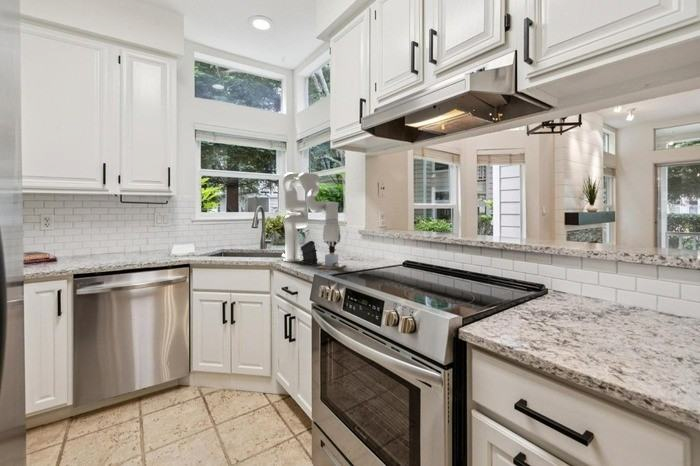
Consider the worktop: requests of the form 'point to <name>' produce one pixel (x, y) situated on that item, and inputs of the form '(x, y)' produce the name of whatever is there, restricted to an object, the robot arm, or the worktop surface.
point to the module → (331, 259)
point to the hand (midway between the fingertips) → (332, 252)
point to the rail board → (335, 266)
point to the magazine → (309, 253)
